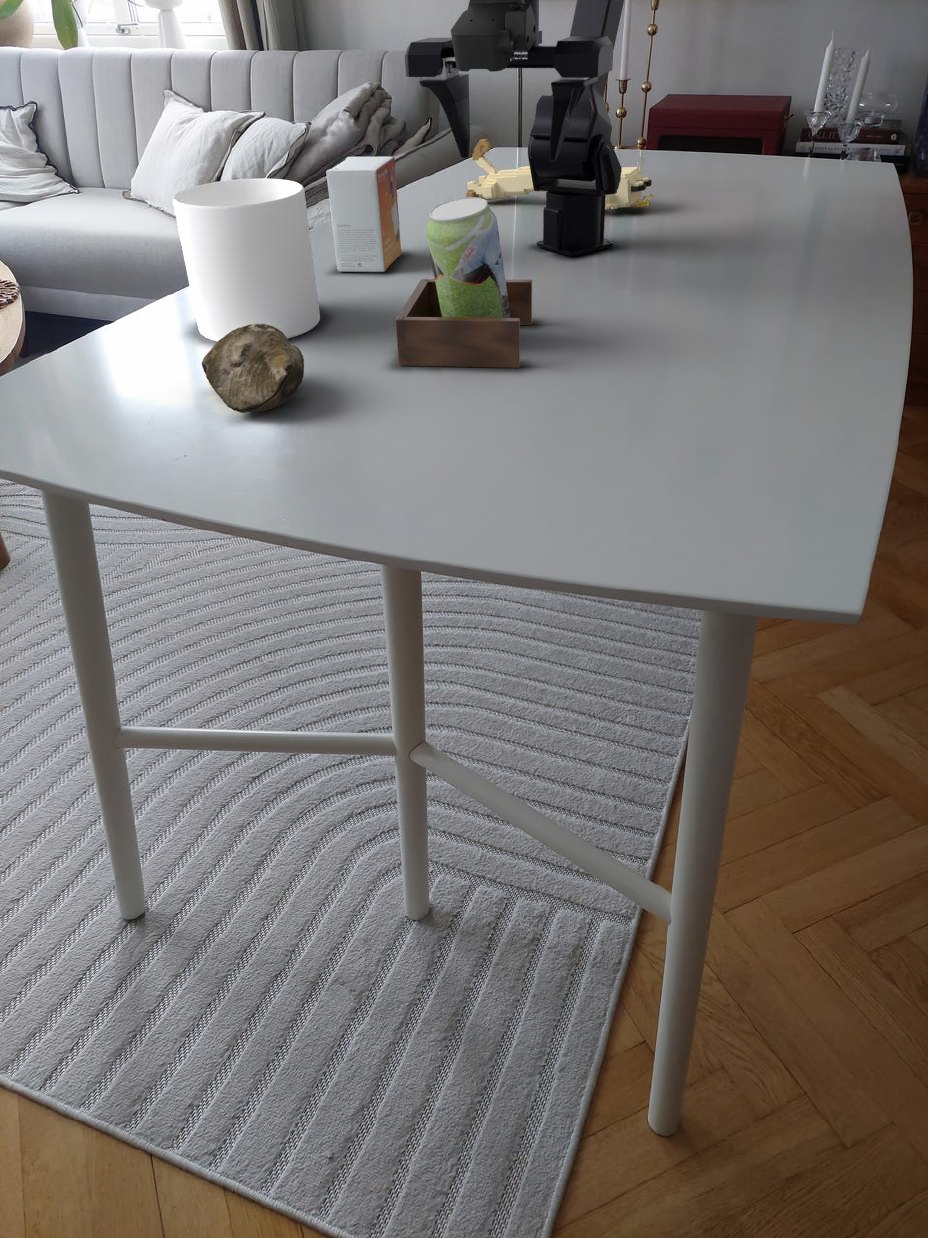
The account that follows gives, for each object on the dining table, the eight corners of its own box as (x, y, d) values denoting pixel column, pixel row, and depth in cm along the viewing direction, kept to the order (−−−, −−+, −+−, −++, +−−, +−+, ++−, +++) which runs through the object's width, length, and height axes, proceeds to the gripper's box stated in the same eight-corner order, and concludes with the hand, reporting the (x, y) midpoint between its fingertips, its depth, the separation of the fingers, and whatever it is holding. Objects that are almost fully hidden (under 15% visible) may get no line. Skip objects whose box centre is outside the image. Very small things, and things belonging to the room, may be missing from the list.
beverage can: (525, 338, 87) (525, 197, 80) (469, 362, 83) (463, 215, 76) (475, 324, 91) (470, 188, 84) (419, 346, 87) (409, 204, 80)
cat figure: (461, 217, 130) (640, 214, 120) (453, 146, 125) (639, 136, 115) (492, 201, 137) (663, 196, 127) (485, 133, 132) (663, 122, 122)
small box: (384, 273, 106) (376, 169, 100) (336, 272, 107) (324, 169, 101) (403, 253, 112) (396, 155, 106) (357, 252, 113) (347, 155, 107)
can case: (532, 322, 91) (532, 279, 88) (519, 367, 81) (518, 320, 79) (423, 321, 92) (421, 278, 90) (399, 365, 83) (395, 319, 81)
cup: (217, 353, 87) (190, 213, 80) (185, 318, 96) (158, 189, 89) (338, 329, 91) (322, 194, 84) (297, 297, 100) (280, 172, 93)
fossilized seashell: (314, 387, 73) (319, 362, 82) (257, 313, 70) (269, 296, 79) (237, 445, 74) (250, 414, 83) (178, 374, 72) (198, 350, 81)
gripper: (372, -27, 82) (387, 172, 91) (583, -34, 76) (577, 179, 85) (424, -32, 90) (433, 150, 99) (618, -39, 84) (610, 155, 93)
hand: (508, 158), depth 94 cm, fingers open, 9 cm apart
